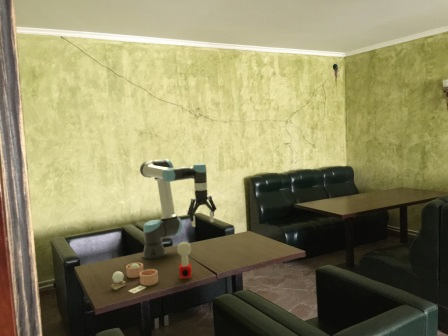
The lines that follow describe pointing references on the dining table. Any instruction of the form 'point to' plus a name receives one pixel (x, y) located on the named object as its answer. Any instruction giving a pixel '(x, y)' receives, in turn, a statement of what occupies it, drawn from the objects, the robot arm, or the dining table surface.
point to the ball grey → (118, 277)
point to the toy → (184, 260)
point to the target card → (137, 289)
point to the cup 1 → (134, 270)
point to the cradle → (118, 285)
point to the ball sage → (134, 266)
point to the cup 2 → (148, 277)
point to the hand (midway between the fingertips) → (202, 224)
